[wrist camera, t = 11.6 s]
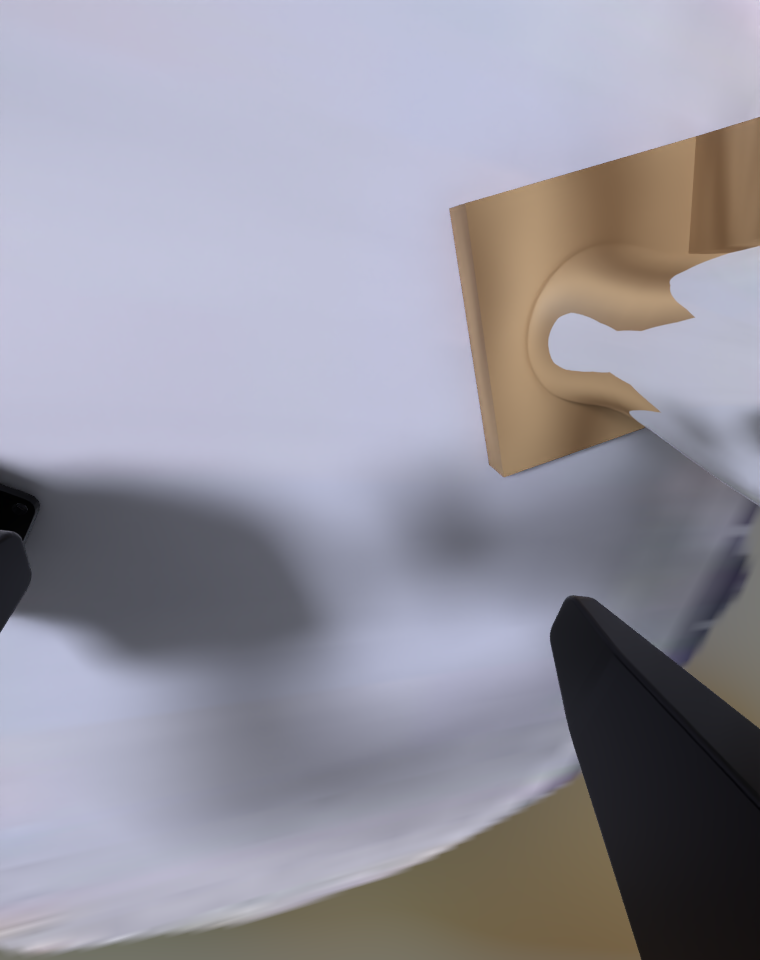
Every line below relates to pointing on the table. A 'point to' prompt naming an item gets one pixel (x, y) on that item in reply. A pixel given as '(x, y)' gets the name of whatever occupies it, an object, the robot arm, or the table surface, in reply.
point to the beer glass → (661, 347)
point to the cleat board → (562, 234)
